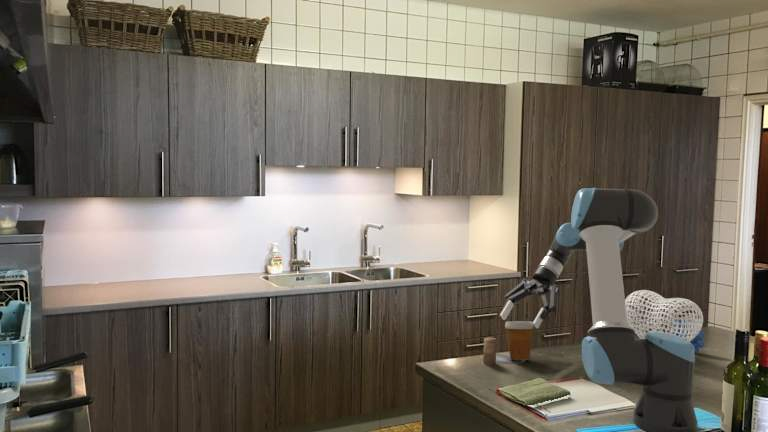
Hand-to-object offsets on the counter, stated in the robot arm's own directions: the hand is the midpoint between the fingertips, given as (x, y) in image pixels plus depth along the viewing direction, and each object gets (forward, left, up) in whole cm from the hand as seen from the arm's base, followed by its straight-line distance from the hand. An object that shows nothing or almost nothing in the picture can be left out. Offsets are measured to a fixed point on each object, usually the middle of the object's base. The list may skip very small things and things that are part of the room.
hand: (518, 321), depth 219 cm
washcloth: (-27, -20, -14) cm, 36 cm away
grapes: (+52, -39, -13) cm, 66 cm away
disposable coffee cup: (-4, -3, -11) cm, 12 cm away
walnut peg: (-13, +3, -12) cm, 18 cm away
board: (-6, 0, -13) cm, 15 cm away
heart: (+38, -34, -13) cm, 53 cm away
